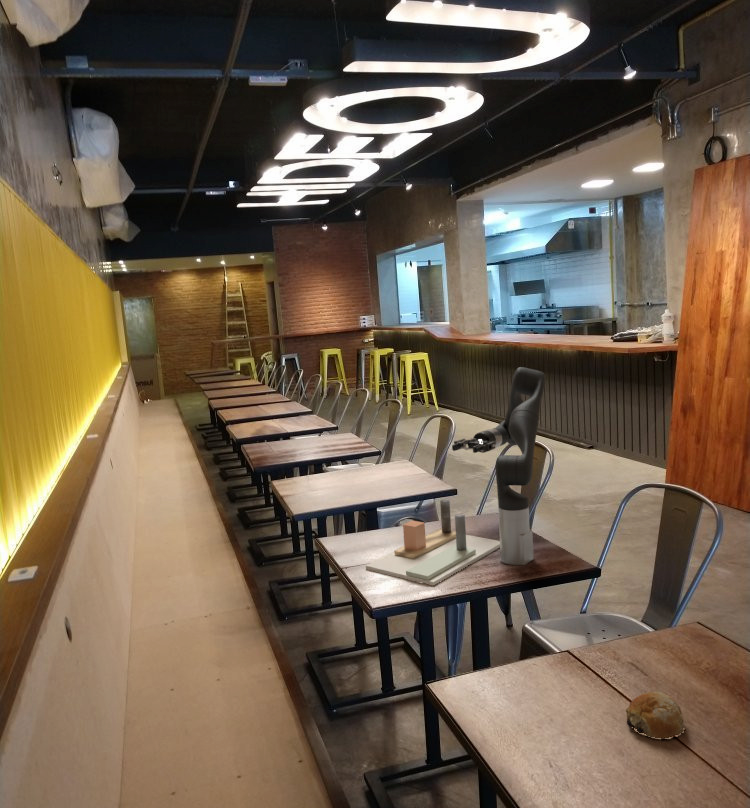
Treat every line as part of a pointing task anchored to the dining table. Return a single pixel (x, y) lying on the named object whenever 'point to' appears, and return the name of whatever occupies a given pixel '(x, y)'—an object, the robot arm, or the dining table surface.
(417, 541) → the terracotta block
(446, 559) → the sage strip
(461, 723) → the dining table surface
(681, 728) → the bread roll
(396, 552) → the oak strip
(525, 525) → the robot arm
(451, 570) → the lane board
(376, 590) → the dining table surface
